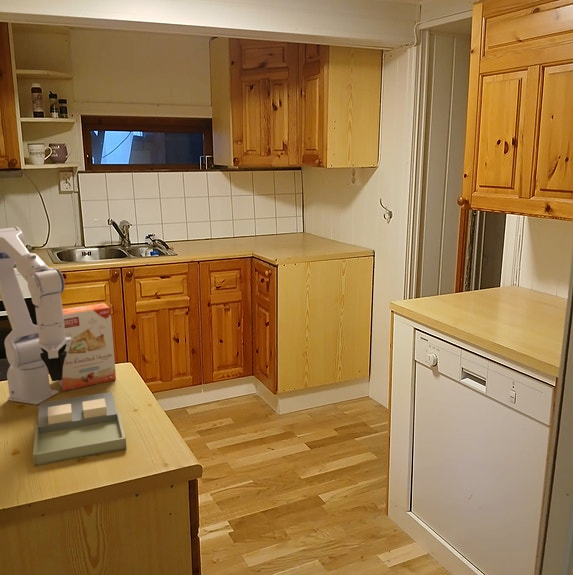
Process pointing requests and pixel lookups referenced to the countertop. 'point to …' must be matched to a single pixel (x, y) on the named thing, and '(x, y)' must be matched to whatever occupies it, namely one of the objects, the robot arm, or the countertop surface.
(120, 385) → the countertop surface
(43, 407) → the slate plate
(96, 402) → the tile
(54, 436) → the tray
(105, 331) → the cracker box
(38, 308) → the robot arm
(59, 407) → the tile
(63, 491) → the countertop surface
